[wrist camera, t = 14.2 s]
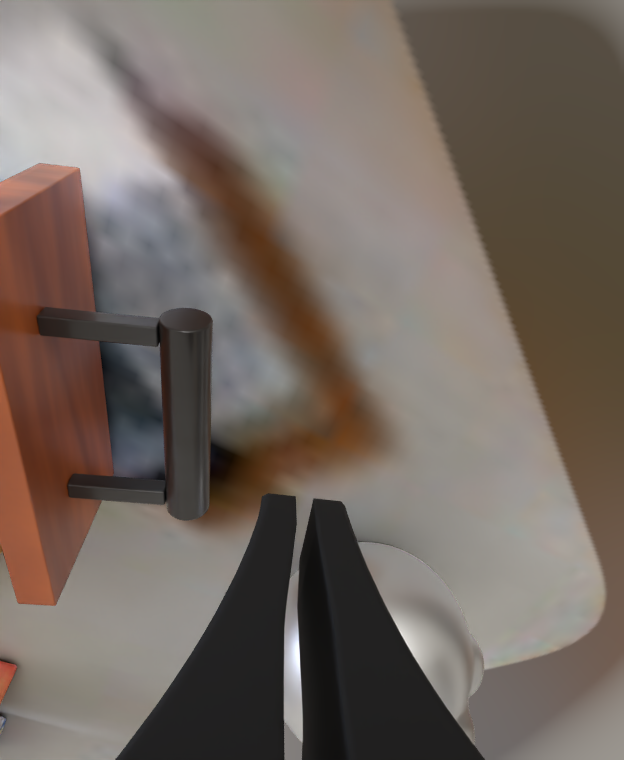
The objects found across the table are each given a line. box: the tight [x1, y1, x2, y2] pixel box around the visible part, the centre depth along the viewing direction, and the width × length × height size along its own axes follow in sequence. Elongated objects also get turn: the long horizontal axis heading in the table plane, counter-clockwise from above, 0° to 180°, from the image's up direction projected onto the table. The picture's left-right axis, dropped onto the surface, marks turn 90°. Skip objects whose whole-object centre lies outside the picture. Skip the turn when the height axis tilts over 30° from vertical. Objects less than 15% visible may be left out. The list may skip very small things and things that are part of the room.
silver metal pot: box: [284, 542, 484, 744], centre depth 23 cm, size 9×9×10 cm
